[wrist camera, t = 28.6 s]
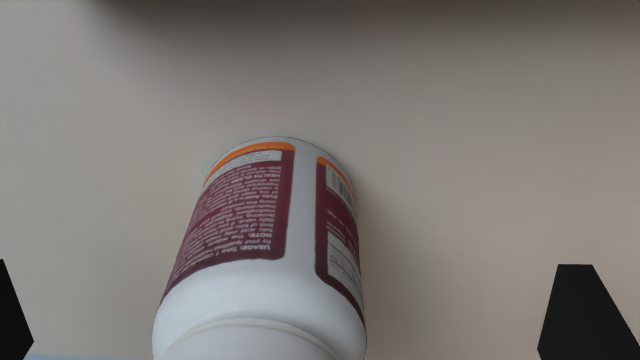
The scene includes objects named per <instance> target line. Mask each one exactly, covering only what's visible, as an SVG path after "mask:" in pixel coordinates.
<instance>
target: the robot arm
mask: <svg viewBox="0 0 640 360" xmlns="http://www.w3.org/2000/svg"><path fill="white" fill-rule="evenodd" d="M33 343H34V340H33V338H32V335H31V332H30V330H29V327H28V324H27V322H26V319H25V316H24V314H23V311H22V308H21V306H20V303H19V300H18V298H17V295H16V293H15V290H14V287H13V285H12V282H11V279H10V277H9V274H8V271H7V269H6V266H5V263H4V261H3V259H0V360H23V359H24V357H25V355H26V354H27V352H28V351H29V349H30V347H31V346H32V344H33ZM537 350H538V353H539V355H540V358H541V360H640V346H639V344H638V342H637V341H636V339H635V337H634V335H633V334H632V332H631V330H630V329H629V327H628V325H627V324H626V322H625V320H624V318H623V317H622V315H621V313H620V312H619V310H618V308H617V306H616V305H615V303H614V301H613V300H612V298H611V296H610V295H609V293H608V291H607V289H606V288H605V286H604V284H603V283H602V281H601V279H600V278H599V276H598V274H597V272H596V271H595V269H594V267H593V266H592V265H582V264H558V267H557V271H556V275H555V279H554V283H553V287H552V291H551V295H550V299H549V303H548V307H547V311H546V315H545V319H544V323H543V327H542V331H541V335H540V339H539V343H538V347H537Z"/></svg>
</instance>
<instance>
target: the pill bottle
mask: <svg viewBox="0 0 640 360" xmlns="http://www.w3.org/2000/svg"><path fill="white" fill-rule="evenodd" d="M358 241H359V237H358V228H357V212H356V200H355V194H354V191H353V187H352V184H351V182H350V180H349V178H348V176H347V174H346V172H345V171H344V170H343V168H342V167H341V166H340V164H339V163H337V162H336V161H335V160H334V159H333V158H332V157H331V156H330V155H329V154H327V153H325V152H324V151H322V150H321V149H319V148H317V147H315V146H313V145H311V144H309V143H306V142H304V141H300V140H297V139H294V138H289V137H268V138H259V139H255V140H251V141H249V142H246V143H243V144H241V145H239V146H237V147H235V148H233V149H231V150H230V151H228V152H227V153H226V154H225V155H224V156H222V157H221V158H220V159H219V160H218V161H217V162H216V163H215V165H214V166H213V167H212V169H211V170H210V172H209V174H208V175H207V177H206V179H205V182H204V184H203V188H202V191H201V193H200V195H199V197H198V200H197V203H196V206H195V209H194V212H193V215H192V218H191V220H190V223H189V226H188V229H187V231H186V234H185V236H184V239H183V242H182V245H181V248H180V251H179V253H178V255H177V258H176V262H175V264H174V267H173V270H172V273H171V275H170V278H169V280H168V284H167V287H166V289H165V292H164V294H163V297H162V299H161V302H160V305H159V308H158V310H157V313H156V317H155V320H154V324H153V330H152V351H153V357H154V360H364V359H365V355H366V348H367V336H366V327H365V316H364V305H363V294H362V282H361V271H360V258H359V242H358Z"/></svg>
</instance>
